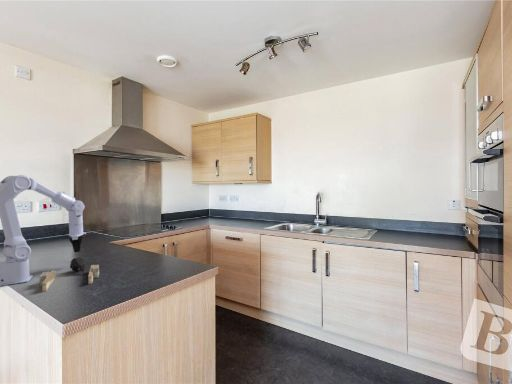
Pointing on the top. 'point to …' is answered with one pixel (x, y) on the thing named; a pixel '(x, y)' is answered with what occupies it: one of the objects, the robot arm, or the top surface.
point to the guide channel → (48, 278)
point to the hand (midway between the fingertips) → (77, 251)
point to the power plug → (78, 265)
